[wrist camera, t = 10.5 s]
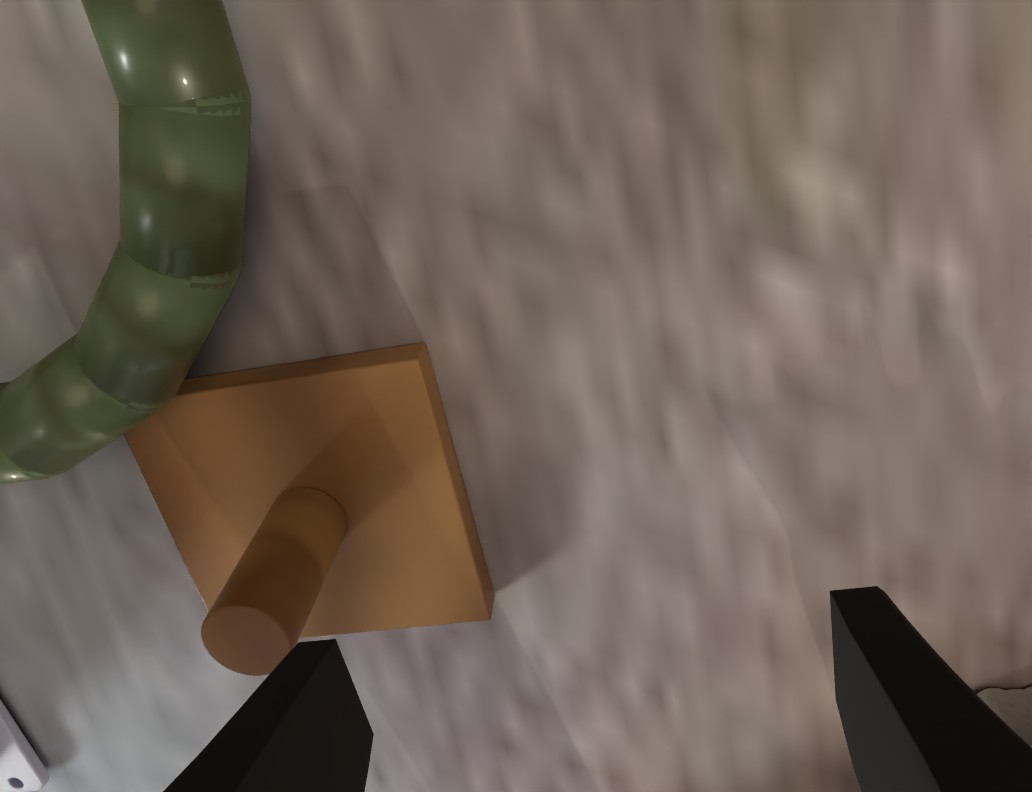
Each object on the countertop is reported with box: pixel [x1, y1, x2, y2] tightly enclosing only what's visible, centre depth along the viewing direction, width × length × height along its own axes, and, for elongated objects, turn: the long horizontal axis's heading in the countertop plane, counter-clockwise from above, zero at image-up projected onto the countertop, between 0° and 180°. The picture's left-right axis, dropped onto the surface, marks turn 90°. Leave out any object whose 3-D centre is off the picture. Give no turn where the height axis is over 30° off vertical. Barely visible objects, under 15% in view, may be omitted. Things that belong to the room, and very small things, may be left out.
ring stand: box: [124, 343, 495, 676], centre depth 21 cm, size 8×8×6 cm
